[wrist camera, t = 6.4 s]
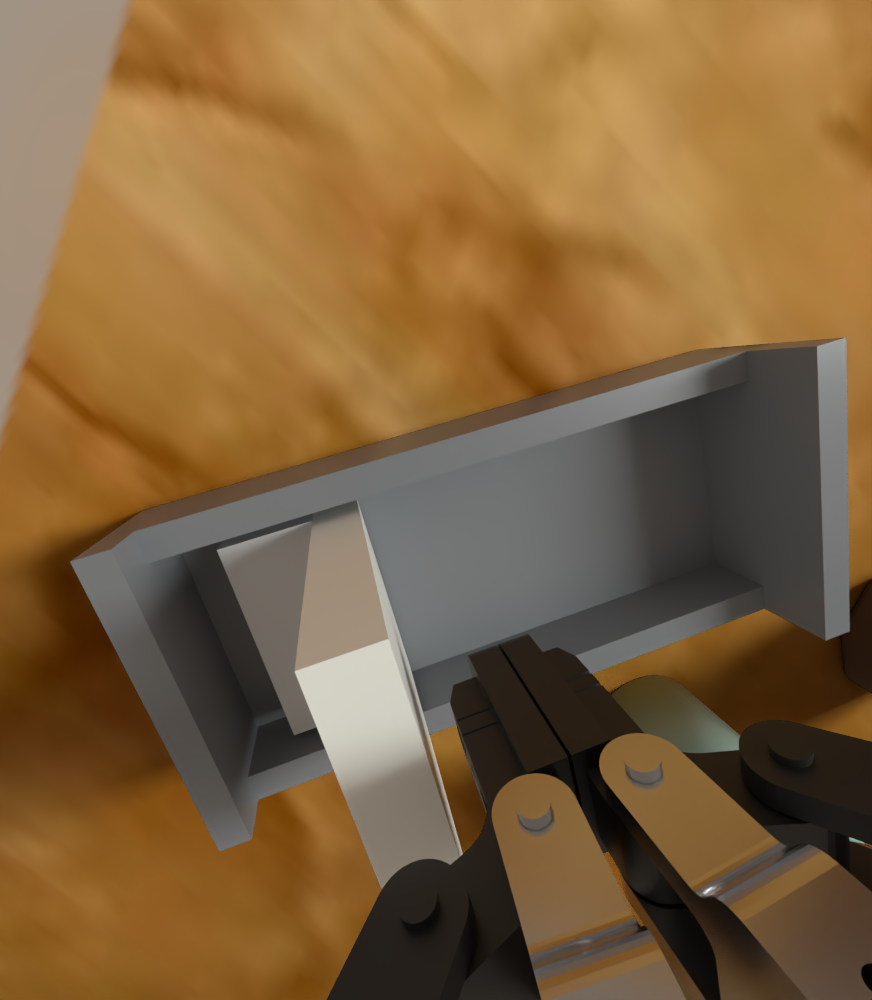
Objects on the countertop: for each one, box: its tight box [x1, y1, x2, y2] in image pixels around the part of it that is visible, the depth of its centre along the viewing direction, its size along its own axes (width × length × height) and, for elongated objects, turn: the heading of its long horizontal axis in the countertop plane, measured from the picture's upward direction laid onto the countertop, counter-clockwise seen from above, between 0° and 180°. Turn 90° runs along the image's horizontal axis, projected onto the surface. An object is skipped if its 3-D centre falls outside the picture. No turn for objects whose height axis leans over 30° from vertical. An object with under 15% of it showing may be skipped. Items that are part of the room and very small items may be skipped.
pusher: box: [217, 500, 463, 890], centre depth 13 cm, size 4×7×10 cm, turn 15°
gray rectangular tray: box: [70, 338, 850, 852], centre depth 17 cm, size 22×10×6 cm, turn 105°
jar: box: [611, 675, 872, 849], centre depth 19 cm, size 6×6×10 cm
